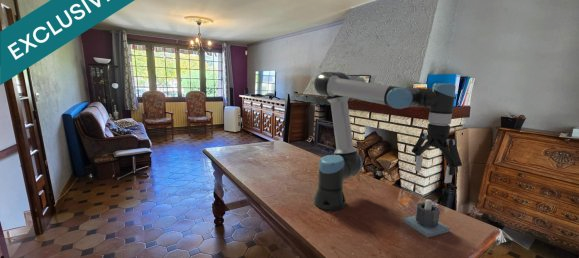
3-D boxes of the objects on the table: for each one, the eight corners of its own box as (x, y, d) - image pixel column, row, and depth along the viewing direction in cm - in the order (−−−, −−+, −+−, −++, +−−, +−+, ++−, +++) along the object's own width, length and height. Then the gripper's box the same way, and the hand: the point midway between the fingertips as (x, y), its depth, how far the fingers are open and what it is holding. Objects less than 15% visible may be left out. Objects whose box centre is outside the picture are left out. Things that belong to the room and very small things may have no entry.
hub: (427, 227, 98) (429, 213, 97) (411, 217, 105) (412, 204, 104) (442, 224, 101) (444, 210, 100) (425, 214, 108) (426, 201, 107)
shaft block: (427, 237, 96) (431, 210, 94) (403, 221, 107) (406, 196, 105) (449, 231, 100) (453, 205, 98) (424, 216, 111) (427, 192, 109)
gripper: (479, 129, 86) (469, 187, 90) (419, 118, 108) (413, 165, 112) (464, 130, 83) (455, 189, 87) (406, 119, 106) (400, 166, 110)
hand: (431, 176), depth 100 cm, fingers open, 13 cm apart
